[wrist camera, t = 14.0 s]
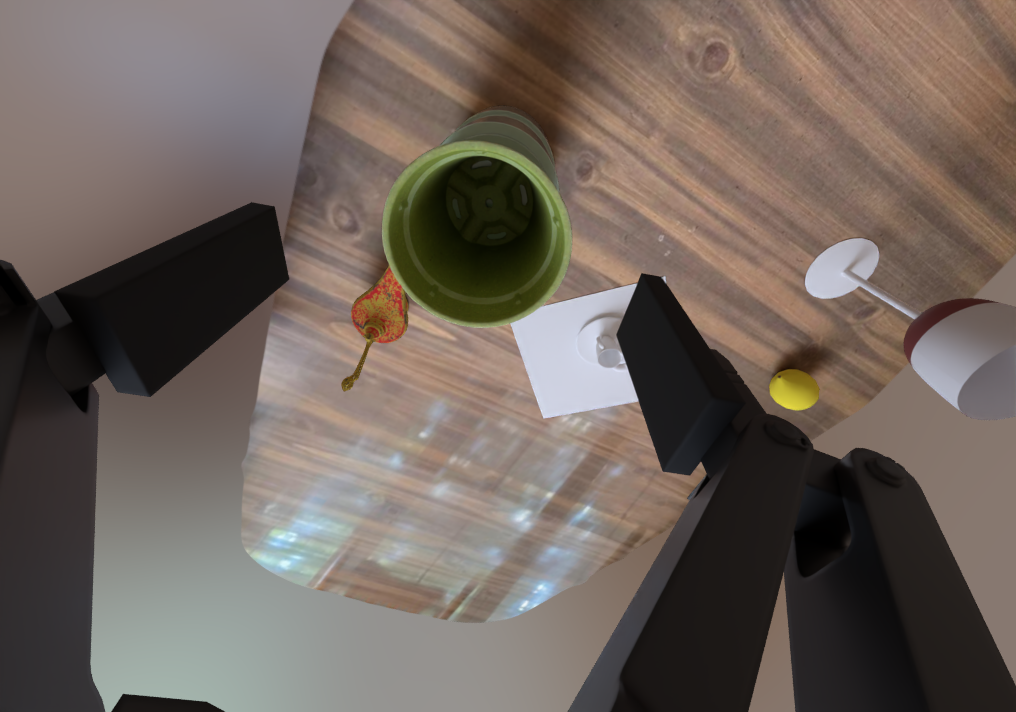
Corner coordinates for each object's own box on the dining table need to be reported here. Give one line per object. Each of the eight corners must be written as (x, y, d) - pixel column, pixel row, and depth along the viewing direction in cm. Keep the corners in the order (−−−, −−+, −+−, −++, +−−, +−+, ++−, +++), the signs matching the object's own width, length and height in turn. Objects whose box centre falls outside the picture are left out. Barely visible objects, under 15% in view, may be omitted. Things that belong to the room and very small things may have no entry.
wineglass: (881, 219, 40) (1118, 311, 24) (881, 284, 45) (1082, 399, 28) (799, 254, 43) (963, 358, 27) (806, 312, 47) (952, 432, 31)
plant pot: (568, 253, 27) (582, 312, 20) (447, 278, 29) (422, 341, 22) (546, 103, 22) (556, 114, 15) (399, 144, 24) (346, 171, 17)
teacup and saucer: (638, 361, 53) (646, 380, 49) (582, 372, 54) (586, 391, 51) (632, 309, 48) (640, 325, 44) (570, 323, 49) (573, 340, 46)
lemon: (813, 378, 53) (838, 405, 49) (776, 399, 56) (797, 426, 52) (788, 352, 51) (813, 377, 46) (751, 375, 53) (771, 401, 49)
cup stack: (458, 95, 35) (419, 103, 22) (562, 117, 36) (582, 137, 23) (450, 204, 41) (415, 260, 28) (539, 221, 42) (544, 283, 29)
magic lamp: (445, 247, 44) (424, 288, 35) (395, 353, 54) (370, 407, 45) (389, 217, 42) (353, 253, 33) (348, 333, 52) (312, 385, 43)
